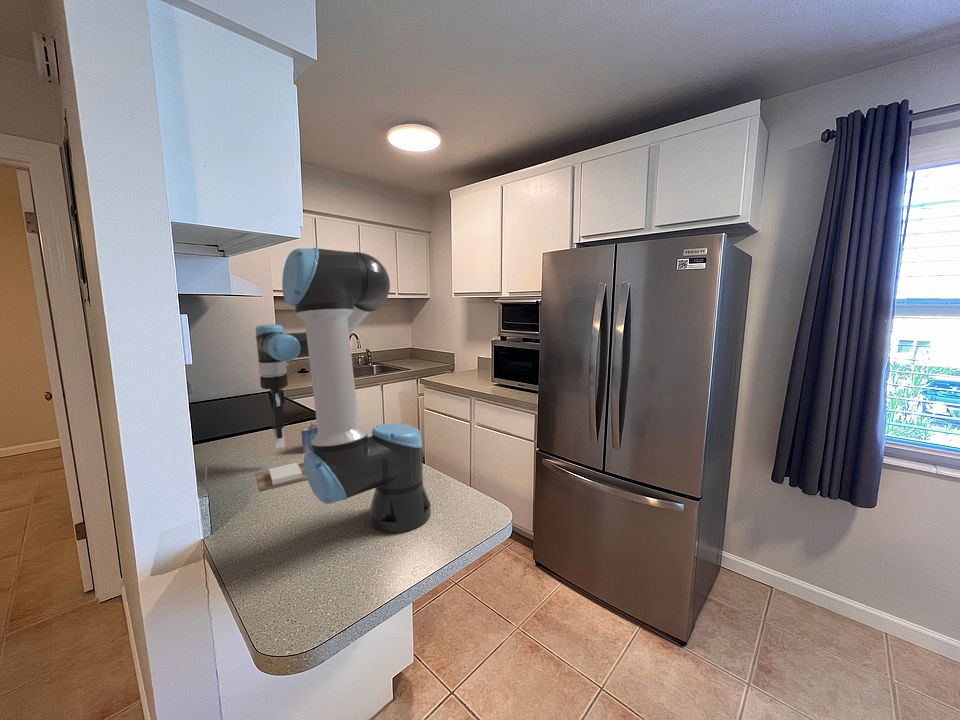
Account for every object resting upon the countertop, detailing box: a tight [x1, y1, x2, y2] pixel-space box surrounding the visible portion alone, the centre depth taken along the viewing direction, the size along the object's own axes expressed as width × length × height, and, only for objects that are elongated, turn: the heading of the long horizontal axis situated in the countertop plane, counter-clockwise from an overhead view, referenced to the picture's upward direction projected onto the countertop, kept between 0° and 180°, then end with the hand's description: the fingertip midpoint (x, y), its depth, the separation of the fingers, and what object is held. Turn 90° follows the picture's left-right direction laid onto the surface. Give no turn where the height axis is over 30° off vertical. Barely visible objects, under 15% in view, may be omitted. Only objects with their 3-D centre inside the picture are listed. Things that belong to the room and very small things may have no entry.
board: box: [255, 462, 308, 493], centre depth 118 cm, size 14×15×1 cm
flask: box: [300, 421, 318, 454], centre depth 139 cm, size 9×3×11 cm, turn 146°
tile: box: [268, 462, 303, 485], centre depth 118 cm, size 2×8×9 cm
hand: (279, 446), depth 123 cm, fingers closed
